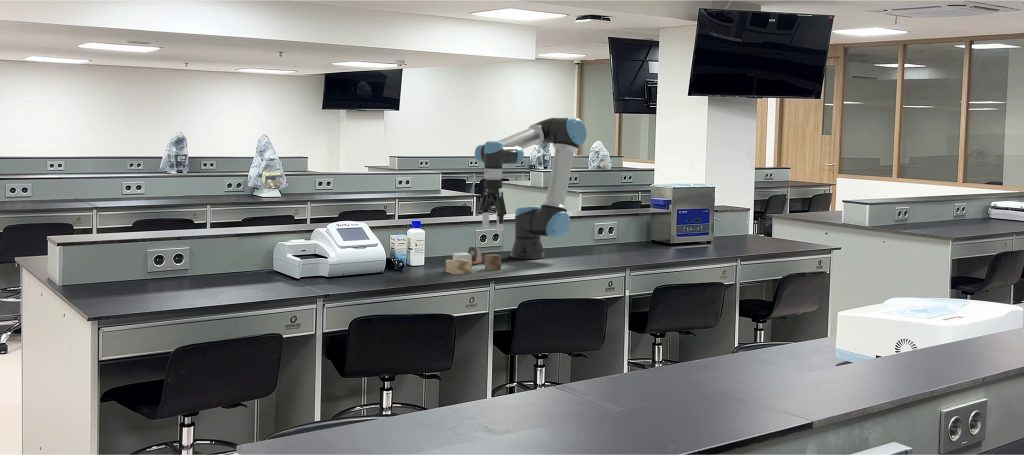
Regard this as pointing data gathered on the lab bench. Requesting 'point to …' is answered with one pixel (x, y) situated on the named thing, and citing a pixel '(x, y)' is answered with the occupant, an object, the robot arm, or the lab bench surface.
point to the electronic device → (475, 255)
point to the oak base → (458, 266)
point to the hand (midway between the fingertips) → (492, 229)
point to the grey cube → (462, 256)
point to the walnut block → (493, 262)
